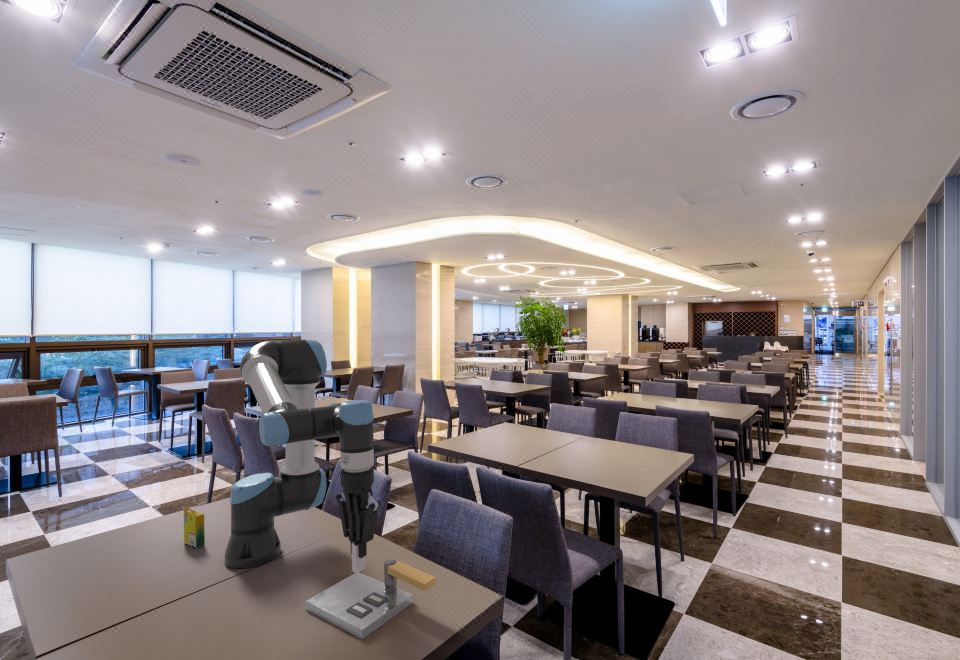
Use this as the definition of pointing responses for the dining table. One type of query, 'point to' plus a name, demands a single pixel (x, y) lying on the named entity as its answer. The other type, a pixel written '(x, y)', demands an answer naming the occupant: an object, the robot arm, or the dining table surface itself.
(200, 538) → the crayon box
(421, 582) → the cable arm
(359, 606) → the label
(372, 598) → the label
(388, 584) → the hinge post
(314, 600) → the plate
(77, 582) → the dining table surface
